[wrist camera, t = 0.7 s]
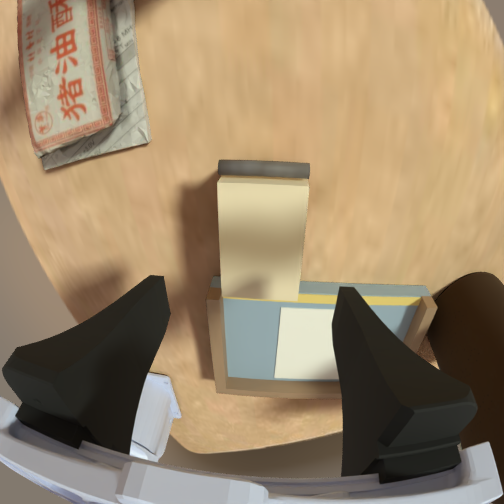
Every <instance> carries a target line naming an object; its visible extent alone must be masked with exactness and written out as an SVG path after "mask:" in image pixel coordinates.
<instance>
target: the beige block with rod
mask: <svg viewBox="0 0 504 504" xmlns="http://www.w3.org/2000/svg"><path fill="white" fill-rule="evenodd" d="M218 174H219V175H222V176H221V178H220V179H219V181H218V182H217V193H218V223H219V247H220V269H221V288H222V297H235V298H250V299H266V300H284V301H298V293H299V285H300V276H301V267H302V258H303V249H304V239H305V229H306V219H307V208H308V196H309V184H308V180H307V179H309V175H310V163H298V162H280V161H257V160H219V163H218Z"/></svg>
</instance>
